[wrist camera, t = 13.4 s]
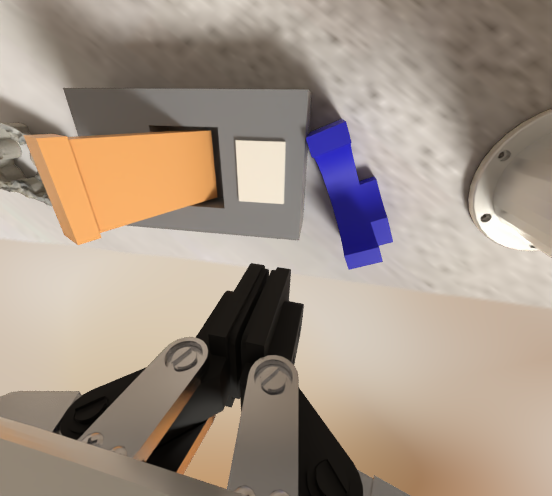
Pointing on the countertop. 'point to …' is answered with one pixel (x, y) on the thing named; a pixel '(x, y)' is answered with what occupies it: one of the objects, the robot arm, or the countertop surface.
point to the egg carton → (9, 177)
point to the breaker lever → (122, 177)
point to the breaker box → (219, 150)
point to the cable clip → (350, 196)
